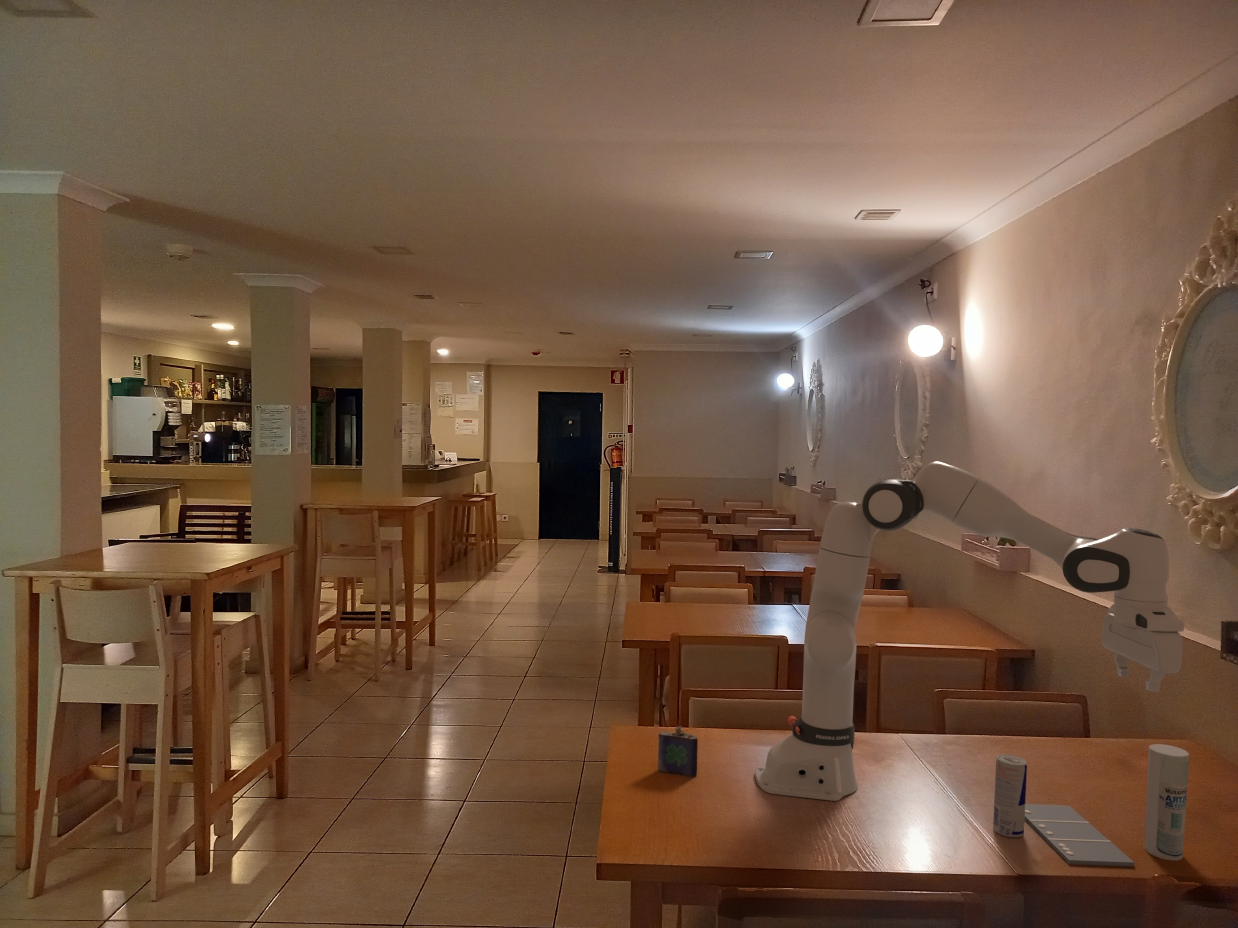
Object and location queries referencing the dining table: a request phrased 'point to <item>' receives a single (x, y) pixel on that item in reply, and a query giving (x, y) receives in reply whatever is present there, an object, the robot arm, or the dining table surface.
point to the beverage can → (1010, 795)
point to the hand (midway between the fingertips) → (1137, 683)
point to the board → (1073, 836)
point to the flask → (677, 753)
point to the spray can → (1166, 801)
